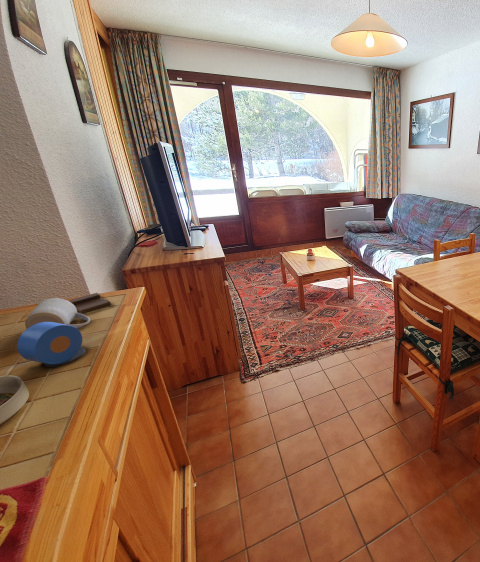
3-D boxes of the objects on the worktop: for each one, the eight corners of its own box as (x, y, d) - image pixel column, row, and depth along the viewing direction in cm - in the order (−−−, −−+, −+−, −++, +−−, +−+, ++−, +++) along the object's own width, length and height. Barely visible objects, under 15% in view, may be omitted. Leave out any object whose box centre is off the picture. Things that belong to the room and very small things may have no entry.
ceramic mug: (29, 342, 74) (16, 314, 72) (44, 326, 81) (32, 299, 78) (85, 332, 79) (75, 306, 76) (95, 318, 86) (86, 293, 83)
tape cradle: (112, 307, 91) (110, 301, 91) (83, 316, 86) (81, 310, 86) (99, 298, 97) (96, 292, 96) (71, 306, 92) (68, 300, 91)
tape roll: (36, 368, 66) (5, 343, 61) (74, 339, 73) (48, 313, 68) (54, 372, 65) (24, 347, 60) (90, 342, 72) (66, 316, 67)
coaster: (35, 366, 67) (34, 363, 66) (67, 347, 73) (66, 345, 73) (63, 368, 66) (62, 366, 66) (93, 350, 72) (92, 348, 72)
